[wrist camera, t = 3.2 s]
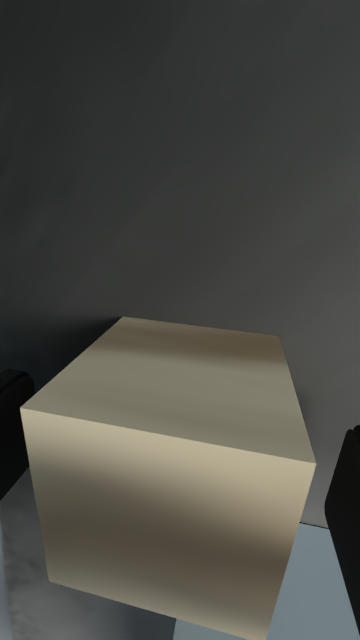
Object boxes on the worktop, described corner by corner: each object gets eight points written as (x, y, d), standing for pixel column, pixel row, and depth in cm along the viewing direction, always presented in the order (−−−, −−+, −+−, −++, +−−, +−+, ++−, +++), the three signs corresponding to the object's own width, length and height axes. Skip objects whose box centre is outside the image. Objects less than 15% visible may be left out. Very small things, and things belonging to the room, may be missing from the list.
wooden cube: (124, 315, 10) (19, 408, 5) (278, 335, 9) (317, 463, 4) (125, 434, 12) (49, 581, 7) (255, 459, 11) (264, 643, 6)
